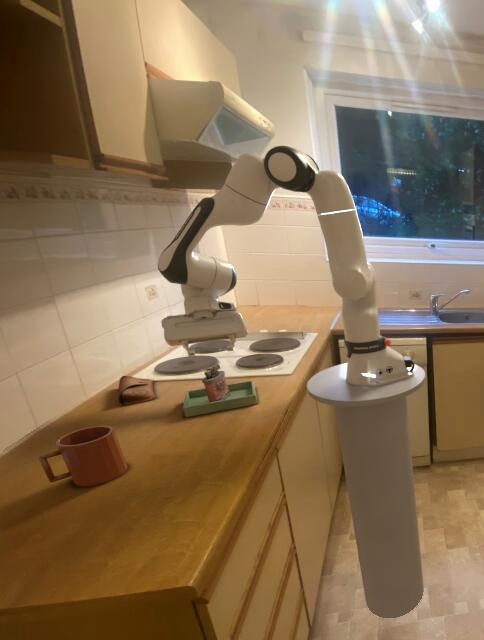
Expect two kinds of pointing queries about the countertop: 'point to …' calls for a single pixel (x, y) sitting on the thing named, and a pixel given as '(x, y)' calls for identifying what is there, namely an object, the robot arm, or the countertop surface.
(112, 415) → the countertop surface
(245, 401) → the tray
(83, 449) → the mug
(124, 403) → the sunglasses case
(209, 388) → the lighter
